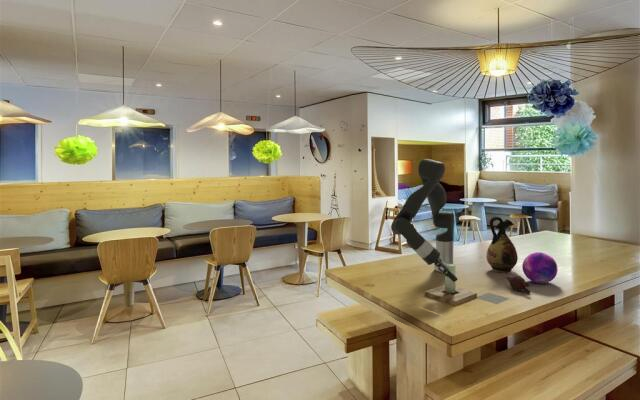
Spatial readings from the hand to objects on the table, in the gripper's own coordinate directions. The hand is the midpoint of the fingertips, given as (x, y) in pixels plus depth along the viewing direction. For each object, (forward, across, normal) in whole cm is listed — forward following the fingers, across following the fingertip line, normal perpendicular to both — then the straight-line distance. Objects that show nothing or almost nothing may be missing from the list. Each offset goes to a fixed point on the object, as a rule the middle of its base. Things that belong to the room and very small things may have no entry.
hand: (454, 278), depth 170 cm
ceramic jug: (+29, +44, -16) cm, 55 cm away
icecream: (+28, +13, -15) cm, 34 cm away
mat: (+17, -1, -5) cm, 18 cm away
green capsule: (+3, 0, +6) cm, 6 cm away
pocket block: (+5, 0, +7) cm, 9 cm away
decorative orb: (+37, +24, -25) cm, 51 cm away
